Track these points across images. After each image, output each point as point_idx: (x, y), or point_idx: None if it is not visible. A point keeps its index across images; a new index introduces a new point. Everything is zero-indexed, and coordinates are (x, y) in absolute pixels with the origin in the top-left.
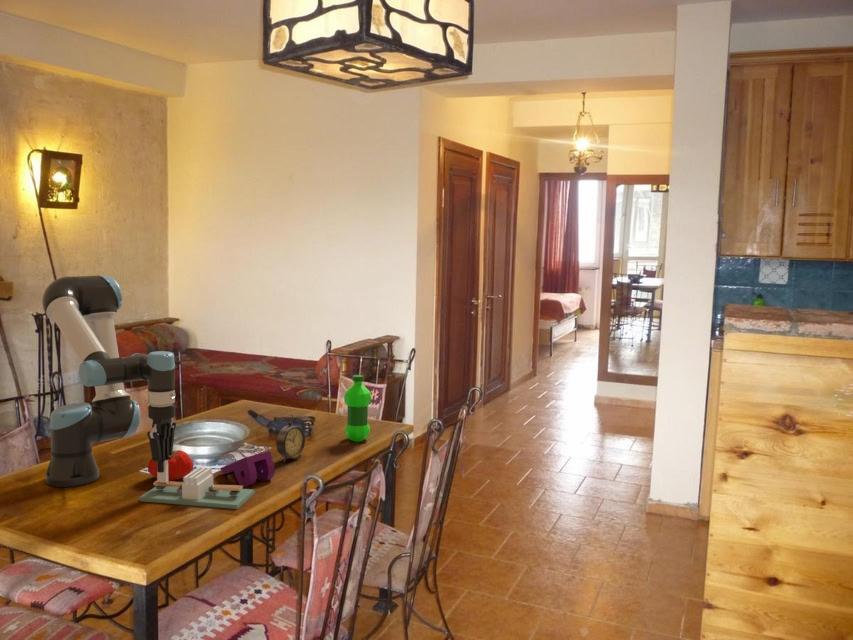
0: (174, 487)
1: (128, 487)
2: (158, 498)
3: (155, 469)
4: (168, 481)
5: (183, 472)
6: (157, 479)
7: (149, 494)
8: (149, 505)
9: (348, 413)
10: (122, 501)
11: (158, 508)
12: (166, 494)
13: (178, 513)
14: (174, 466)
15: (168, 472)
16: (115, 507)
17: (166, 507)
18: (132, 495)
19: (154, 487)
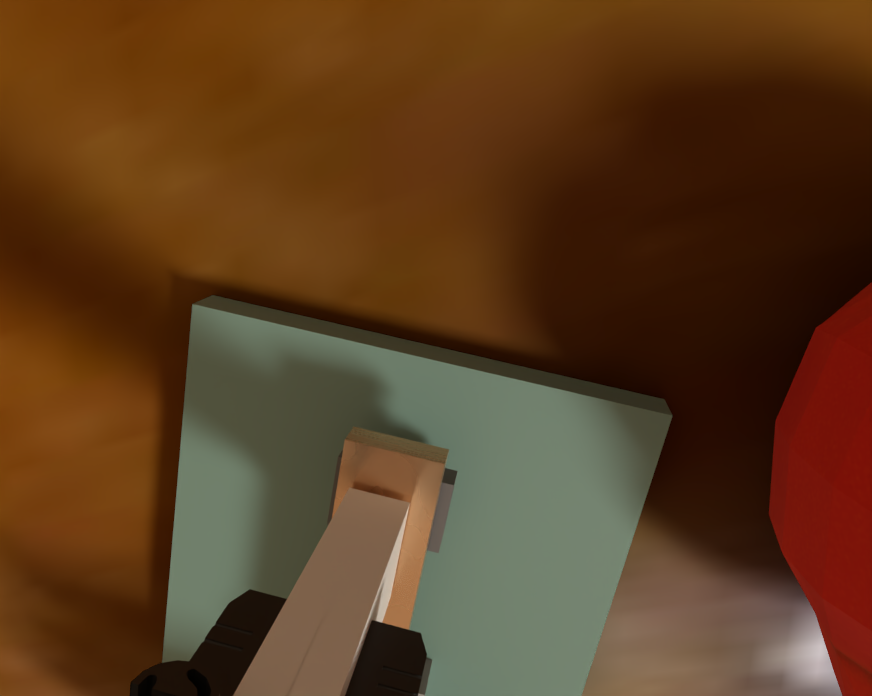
0: (496, 575)
1: (652, 4)
2: (181, 493)
3: (839, 362)
4: (399, 593)
5: (833, 667)
6: (341, 504)
7: (275, 384)
8: (125, 416)
9: None
10: (186, 120)
11: (74, 504)
12: (292, 540)
13: (10, 660)
14: (849, 641)
15: (779, 526)
16: (25, 112)
17: (105, 559)
18: (369, 163)
19: (496, 377)
